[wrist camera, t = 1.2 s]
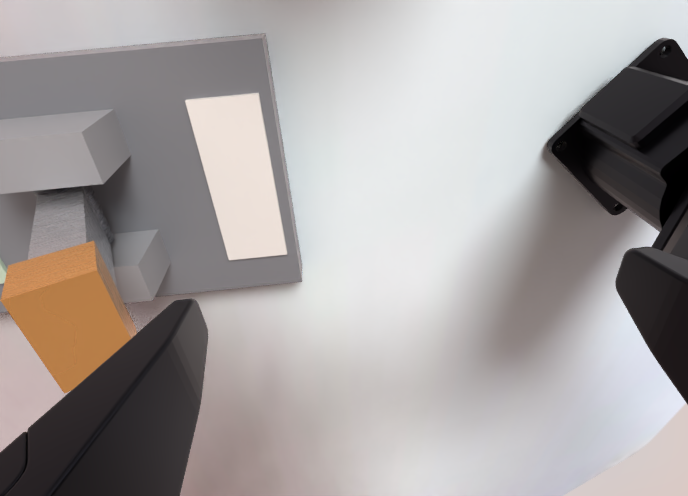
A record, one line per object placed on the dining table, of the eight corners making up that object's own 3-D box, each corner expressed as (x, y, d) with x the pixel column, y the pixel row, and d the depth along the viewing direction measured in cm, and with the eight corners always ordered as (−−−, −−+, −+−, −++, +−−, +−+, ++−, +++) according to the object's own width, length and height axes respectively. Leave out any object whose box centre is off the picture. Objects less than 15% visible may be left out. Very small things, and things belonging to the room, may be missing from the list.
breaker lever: (86, 162, 18) (96, 270, 11) (116, 232, 20) (142, 361, 13) (28, 175, 18) (0, 300, 10) (66, 247, 20) (64, 393, 12)
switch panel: (265, 33, 18) (254, 50, 14) (302, 265, 24) (301, 319, 20) (-175, 73, 17) (-309, 102, 13) (-15, 298, 24) (-75, 359, 20)
